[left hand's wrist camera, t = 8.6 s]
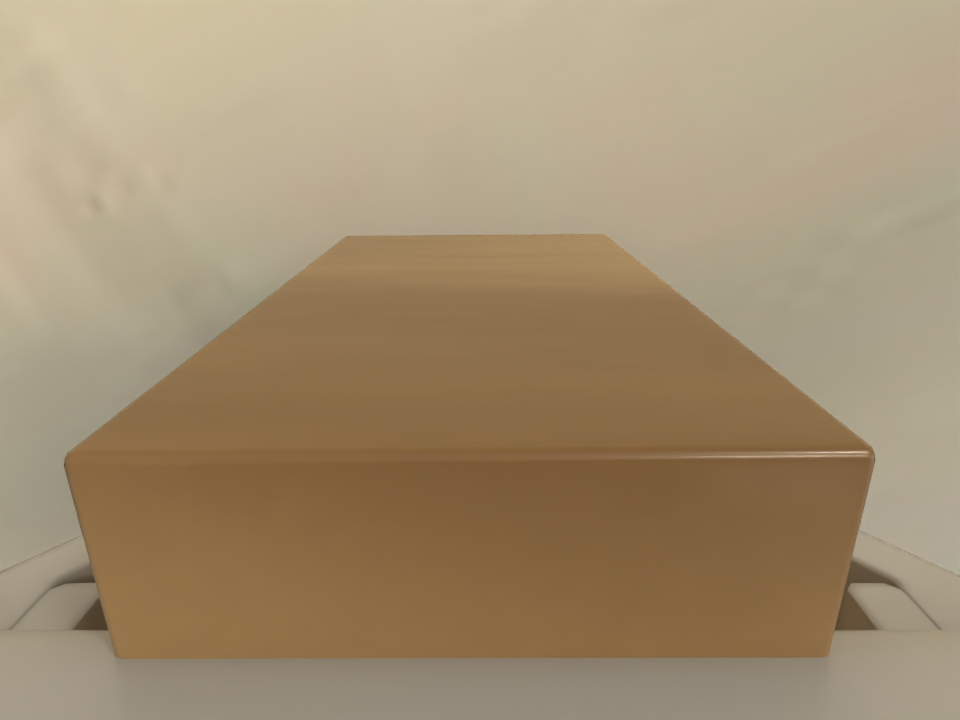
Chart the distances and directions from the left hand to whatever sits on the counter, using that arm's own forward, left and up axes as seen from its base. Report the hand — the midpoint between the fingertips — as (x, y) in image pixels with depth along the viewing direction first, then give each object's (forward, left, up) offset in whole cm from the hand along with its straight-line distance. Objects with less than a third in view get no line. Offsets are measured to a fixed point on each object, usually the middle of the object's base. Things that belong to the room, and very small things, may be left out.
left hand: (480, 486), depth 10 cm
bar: (+10, 0, -4) cm, 10 cm away
